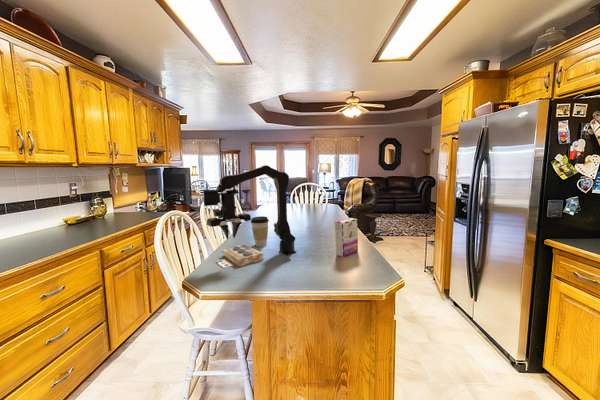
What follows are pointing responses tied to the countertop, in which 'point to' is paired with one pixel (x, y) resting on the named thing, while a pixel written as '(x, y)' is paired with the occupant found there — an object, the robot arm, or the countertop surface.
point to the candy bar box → (346, 237)
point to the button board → (241, 258)
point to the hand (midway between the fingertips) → (230, 238)
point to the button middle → (242, 250)
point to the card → (224, 263)
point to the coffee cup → (260, 230)
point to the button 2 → (247, 253)
